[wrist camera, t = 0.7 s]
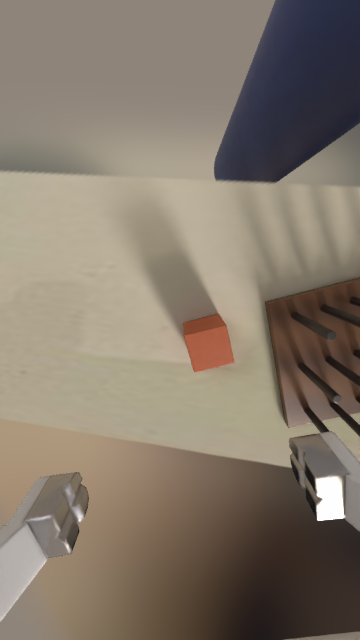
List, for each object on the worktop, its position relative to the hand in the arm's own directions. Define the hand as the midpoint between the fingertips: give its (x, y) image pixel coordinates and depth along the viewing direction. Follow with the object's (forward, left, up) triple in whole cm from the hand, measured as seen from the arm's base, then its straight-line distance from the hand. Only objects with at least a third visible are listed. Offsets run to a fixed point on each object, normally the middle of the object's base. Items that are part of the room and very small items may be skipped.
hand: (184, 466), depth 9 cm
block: (+2, +2, -17) cm, 17 cm away
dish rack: (+8, +16, -17) cm, 25 cm away
